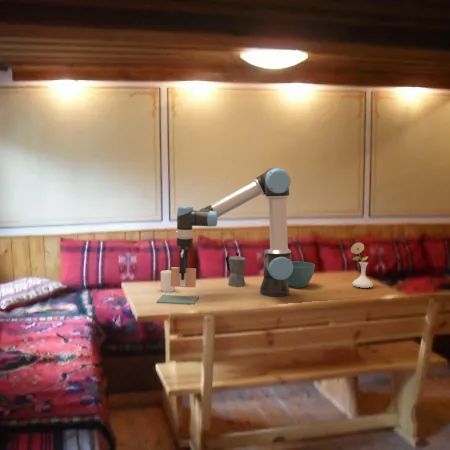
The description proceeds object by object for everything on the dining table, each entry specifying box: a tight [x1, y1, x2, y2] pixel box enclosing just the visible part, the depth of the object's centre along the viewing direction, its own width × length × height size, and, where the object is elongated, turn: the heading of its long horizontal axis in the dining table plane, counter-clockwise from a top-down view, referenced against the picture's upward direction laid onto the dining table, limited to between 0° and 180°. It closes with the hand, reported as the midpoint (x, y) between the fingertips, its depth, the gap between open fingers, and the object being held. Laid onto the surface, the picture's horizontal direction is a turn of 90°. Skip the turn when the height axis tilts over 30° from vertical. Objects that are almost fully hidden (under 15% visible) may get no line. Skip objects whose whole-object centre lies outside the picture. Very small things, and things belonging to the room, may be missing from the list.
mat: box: [156, 294, 199, 305], centre depth 290 cm, size 18×15×1 cm
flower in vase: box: [350, 242, 374, 289], centre depth 330 cm, size 13×11×25 cm
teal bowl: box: [286, 261, 316, 288], centre depth 329 cm, size 18×18×12 cm
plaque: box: [170, 266, 197, 288], centre depth 293 cm, size 12×2×9 cm, turn 84°
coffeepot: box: [225, 252, 247, 288], centre depth 328 cm, size 15×9×18 cm, turn 44°
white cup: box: [160, 269, 176, 293], centre depth 310 cm, size 8×8×10 cm
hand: (183, 285), depth 293 cm, fingers closed on plaque, 2 cm apart
